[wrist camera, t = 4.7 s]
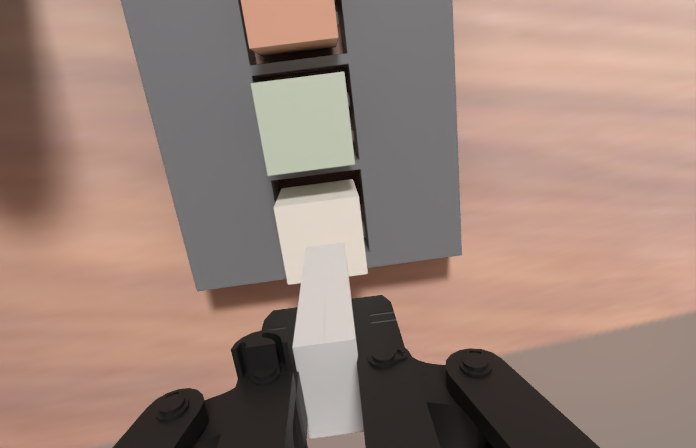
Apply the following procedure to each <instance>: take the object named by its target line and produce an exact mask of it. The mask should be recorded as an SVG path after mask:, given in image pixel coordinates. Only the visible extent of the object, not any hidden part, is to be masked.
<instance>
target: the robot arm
mask: <svg viewBox="0 0 696 448" xmlns="http://www.w3.org/2000/svg"><path fill="white" fill-rule="evenodd" d="M231 352H232V356H233V360H234V364H235V368H236V372H237V377H238V381H237V384H236V387H235V388H234V389H232V390H230V391H228V392H226V393H224V394H221V395H218V396H216V397H213V398H210V399H207V400H204V397H203V394H201V393H200V392H199V391H198V390H195V389H191V388H186V389H178V390H175V391H172V392H169V393H167V394H165V395H163V396H161V397H160V398H158V399H156V400H155V401H154V402H153V403H152V404H151V405H150V406H148V407H147V408H146V410H145V411H144V412H143V413H142V414H141V415H140V416H139V418H138V419H137V420H136V421H135V422H134V423H133V425H132V426H131V427H130V428H129V429H128V430H127V432H126V433H125V434H124V435H123V436H122V437H121V438H120V440H119V441H118V442H117V443H116V444H115V446H114V447H113V448H308V446H307V441H306V438H307V427H308V432H309V438H310V439H312V438H320V437H328V436H335V435H342V434H350V433H357V432H364V435H365V445H366V448H600V447H599V446H598V445H596V444H595V443H594V442H593V441H592V440H591V439H590V438H589V437H588V436H587V435H585V434H584V433H583V432H582V431H581V430H580V429H579V428H578V427H577V426H575V425H574V424H573V423H572V422H571V421H570V420H569V419H568V418H567V417H565V416H564V415H563V414H562V413H561V412H560V411H559V410H558V409H557V408H555V407H554V406H553V405H552V404H551V403H550V402H549V401H548V400H547V399H546V398H545V397H543V396H542V395H541V394H540V393H539V392H538V391H537V390H536V389H534V388H533V387H532V386H531V385H530V384H529V383H528V382H527V381H526V380H525V379H523V378H522V377H521V376H520V375H519V374H518V373H517V372H516V371H515V370H514V369H512V368H511V367H510V366H509V365H508V364H507V363H506V362H505V361H504V360H502V359H501V358H500V357H498V356H497V355H495V354H494V353H492V352H489V351H485V350H482V349H464V350H459V351H457V352H455V353H453V354H451V355H450V356H449V358H448V359H447V360H446V365H437V364H430V363H424V362H422V361H419V360H417V359H415V358H413V357H412V356H411V354H410V353H409V351H408V350H407V349H406V348H405V347H404V343H403V340H402V337H401V334H400V330H399V327H398V324H397V321H396V317H395V314H394V311H393V308H392V304H391V302H390V301H389V300H388V299H386V298H385V297H384V296H383V295H378V296H371V297H363V298H355V299H352V297H351V289H350V282H349V274H348V267H347V259H346V251H345V244H344V243H336V244H328V245H321V246H313V247H306V250H305V257H304V265H303V272H302V280H301V287H300V295H299V302H298V307H297V308H289V309H282V310H274V311H272V312H271V313H270V314H269V316H268V317H267V318H266V319H265V320H264V323H263V327H262V331H258V332H254V333H251V334H249V335H247V336H245V337H243V338H241V339H240V340H239V341H237V342H236V343H235V344H234V346H233V347H232V349H231Z"/></svg>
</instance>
